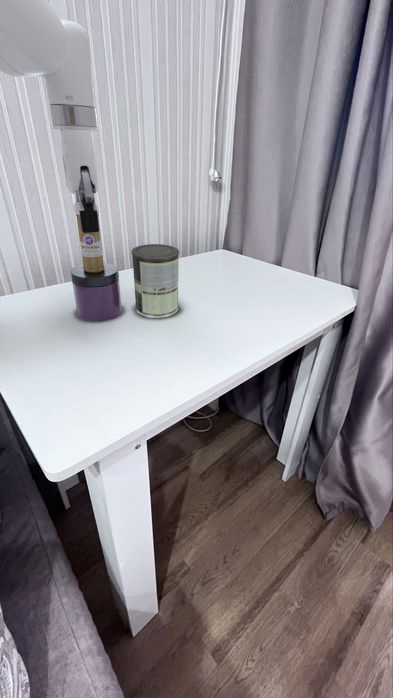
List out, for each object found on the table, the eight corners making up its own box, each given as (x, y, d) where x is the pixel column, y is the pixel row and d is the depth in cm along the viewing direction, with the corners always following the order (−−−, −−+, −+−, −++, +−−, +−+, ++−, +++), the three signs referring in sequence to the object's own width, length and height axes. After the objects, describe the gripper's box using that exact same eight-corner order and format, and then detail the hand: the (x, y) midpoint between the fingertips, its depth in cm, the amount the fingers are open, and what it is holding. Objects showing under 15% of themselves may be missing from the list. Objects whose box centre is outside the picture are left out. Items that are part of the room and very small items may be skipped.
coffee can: (126, 310, 79) (121, 250, 71) (155, 296, 86) (153, 241, 78) (159, 323, 74) (157, 260, 66) (187, 307, 81) (188, 250, 73)
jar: (80, 324, 72) (73, 283, 67) (75, 305, 79) (68, 267, 74) (126, 317, 75) (122, 277, 70) (116, 300, 83) (113, 263, 78)
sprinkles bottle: (84, 274, 69) (74, 205, 62) (82, 267, 73) (72, 201, 66) (106, 272, 71) (99, 204, 64) (103, 265, 74) (95, 200, 67)
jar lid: (74, 289, 67) (73, 280, 66) (69, 272, 75) (68, 264, 74) (123, 283, 71) (122, 275, 70) (113, 268, 78) (112, 260, 77)
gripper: (48, 119, 63) (65, 220, 72) (55, 117, 50) (74, 241, 59) (89, 122, 65) (100, 219, 75) (106, 120, 52) (116, 238, 62)
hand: (88, 227), depth 67 cm, fingers closed on sprinkles bottle, 4 cm apart
